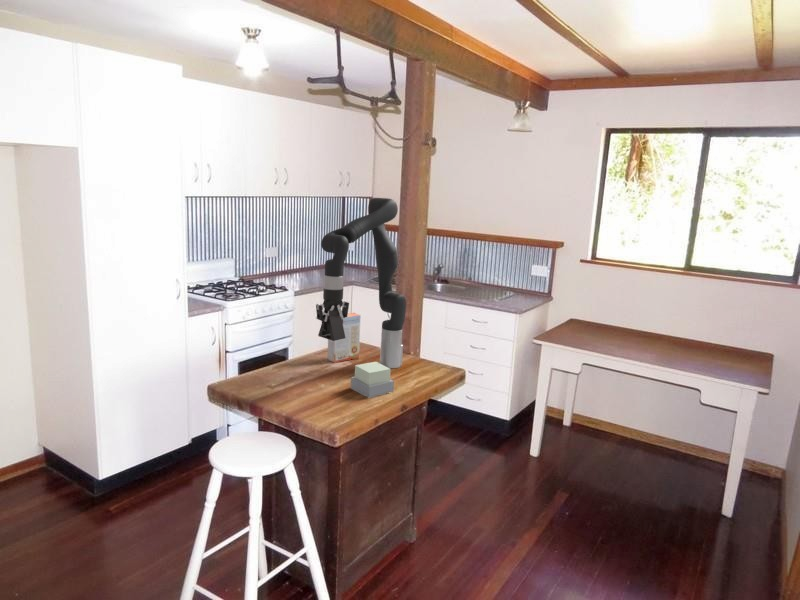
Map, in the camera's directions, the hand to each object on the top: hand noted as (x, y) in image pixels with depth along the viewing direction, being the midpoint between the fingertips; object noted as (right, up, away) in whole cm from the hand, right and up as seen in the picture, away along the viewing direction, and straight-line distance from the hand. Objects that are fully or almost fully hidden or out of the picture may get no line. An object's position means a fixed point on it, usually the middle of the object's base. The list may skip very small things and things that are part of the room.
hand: (331, 329), depth 215 cm
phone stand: (0, -3, +1) cm, 3 cm away
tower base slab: (+15, -25, +4) cm, 29 cm away
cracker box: (0, -16, +40) cm, 43 cm away
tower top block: (+15, -20, +3) cm, 25 cm away
